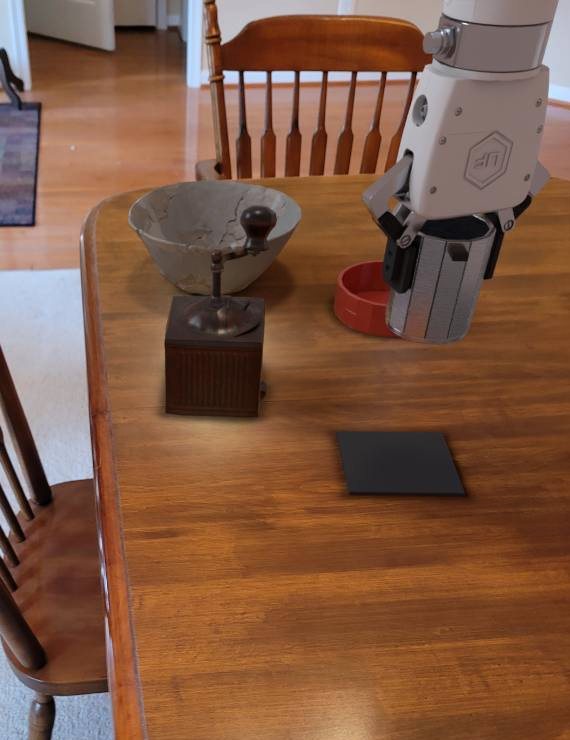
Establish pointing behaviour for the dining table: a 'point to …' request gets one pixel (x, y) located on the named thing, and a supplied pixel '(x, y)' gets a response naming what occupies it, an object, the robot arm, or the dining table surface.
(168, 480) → the dining table surface
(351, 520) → the dining table surface
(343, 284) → the shallow red bowl
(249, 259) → the ceramic bowl
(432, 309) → the steel pot
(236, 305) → the manual coffee grinder
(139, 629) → the dining table surface
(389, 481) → the rubber mat
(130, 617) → the dining table surface
